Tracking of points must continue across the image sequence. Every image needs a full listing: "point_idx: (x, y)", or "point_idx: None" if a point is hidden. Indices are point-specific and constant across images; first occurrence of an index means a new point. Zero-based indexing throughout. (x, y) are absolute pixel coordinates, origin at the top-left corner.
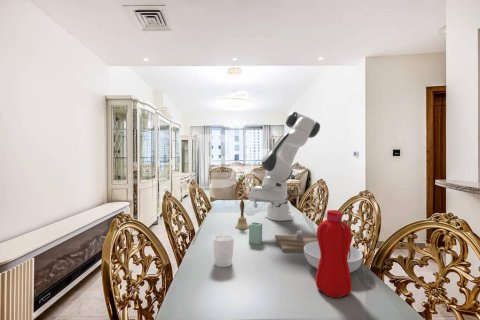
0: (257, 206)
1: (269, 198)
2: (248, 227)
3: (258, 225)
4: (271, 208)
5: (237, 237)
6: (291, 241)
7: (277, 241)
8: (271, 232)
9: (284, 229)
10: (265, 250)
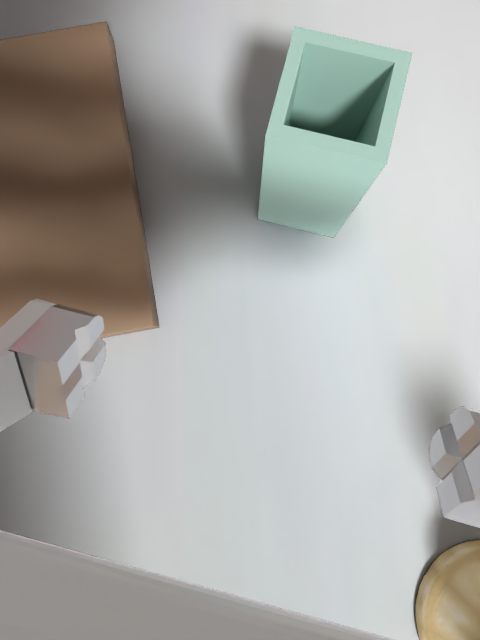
0: (437, 486)
1: (21, 571)
2: (422, 594)
3: (300, 28)
4: (99, 332)
5: (461, 280)
6: (30, 172)
7: (140, 216)
8: (188, 476)
9: None
10: (224, 48)
